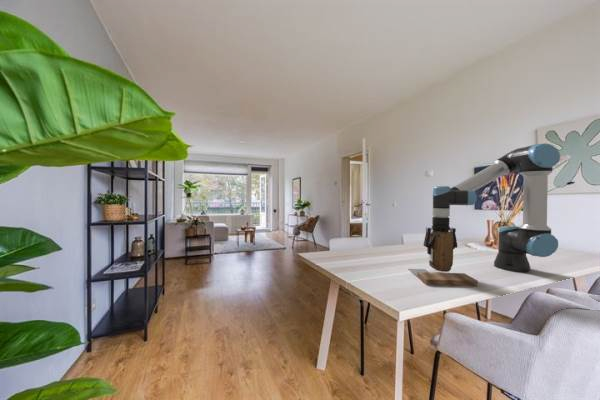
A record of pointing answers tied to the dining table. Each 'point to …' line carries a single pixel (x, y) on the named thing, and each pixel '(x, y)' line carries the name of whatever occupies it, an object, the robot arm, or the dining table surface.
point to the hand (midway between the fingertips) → (439, 260)
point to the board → (447, 279)
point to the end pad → (417, 271)
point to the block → (442, 251)
